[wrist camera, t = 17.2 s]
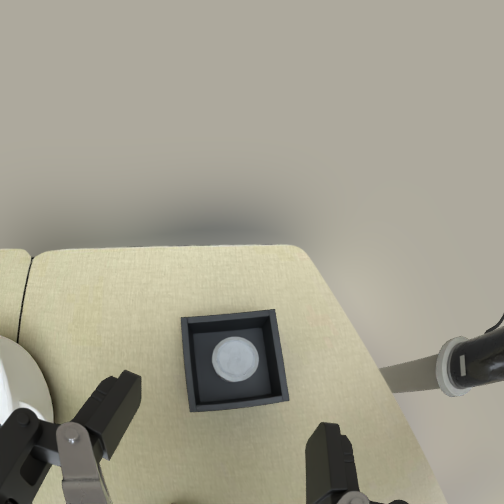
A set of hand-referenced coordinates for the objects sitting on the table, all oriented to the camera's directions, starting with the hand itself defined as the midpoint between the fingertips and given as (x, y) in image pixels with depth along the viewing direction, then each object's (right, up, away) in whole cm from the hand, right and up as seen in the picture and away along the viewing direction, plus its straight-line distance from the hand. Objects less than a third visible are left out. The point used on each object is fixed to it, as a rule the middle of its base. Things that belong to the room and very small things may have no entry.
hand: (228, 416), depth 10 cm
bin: (-2, -9, +27) cm, 29 cm away
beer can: (-2, -9, +27) cm, 28 cm away
